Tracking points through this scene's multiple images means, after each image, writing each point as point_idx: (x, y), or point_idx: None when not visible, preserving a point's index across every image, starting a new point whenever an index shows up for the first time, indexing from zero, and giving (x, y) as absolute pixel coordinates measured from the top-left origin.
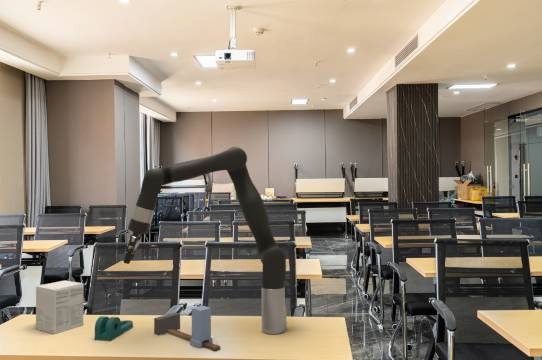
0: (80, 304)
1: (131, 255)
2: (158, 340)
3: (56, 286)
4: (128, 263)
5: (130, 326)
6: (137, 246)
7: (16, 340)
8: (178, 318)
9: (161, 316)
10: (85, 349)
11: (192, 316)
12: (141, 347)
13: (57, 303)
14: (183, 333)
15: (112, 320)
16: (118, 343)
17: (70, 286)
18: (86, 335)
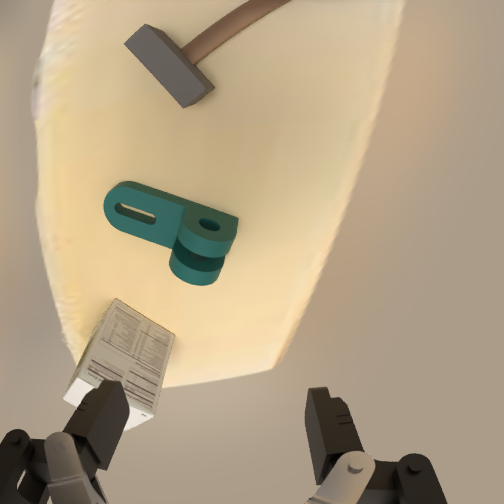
0: (105, 339)
1: (344, 444)
2: (262, 83)
3: None
4: (325, 390)
5: (139, 187)
6: (84, 479)
7: (204, 371)
8: (154, 30)
9: (164, 85)
10: (287, 263)
11: None
12: (312, 128)
13: (155, 383)
14: (243, 10)
15: (220, 244)
16: (262, 195)
17: None
18: None
